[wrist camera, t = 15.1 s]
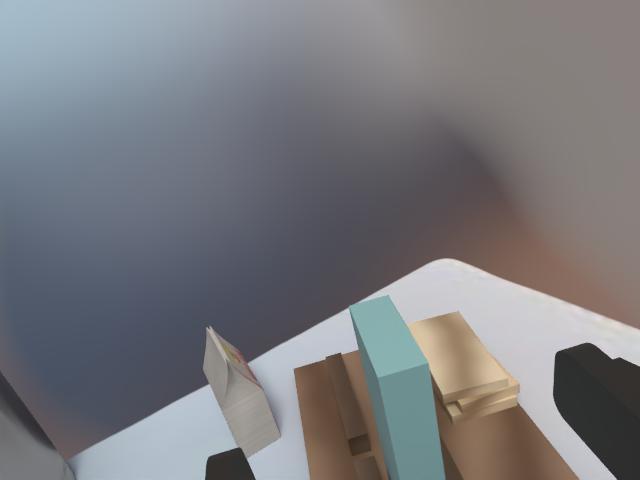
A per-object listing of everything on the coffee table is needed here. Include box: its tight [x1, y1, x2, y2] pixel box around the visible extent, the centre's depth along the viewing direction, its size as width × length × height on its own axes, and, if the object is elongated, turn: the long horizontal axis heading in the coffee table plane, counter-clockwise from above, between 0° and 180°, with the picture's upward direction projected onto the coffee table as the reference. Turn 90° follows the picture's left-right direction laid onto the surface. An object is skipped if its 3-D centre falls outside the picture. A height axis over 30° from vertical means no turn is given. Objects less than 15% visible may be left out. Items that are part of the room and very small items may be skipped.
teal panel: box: [349, 295, 446, 480], centre depth 25 cm, size 2×6×16 cm, turn 9°
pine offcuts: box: [407, 311, 520, 425], centre depth 38 cm, size 6×10×3 cm, turn 9°
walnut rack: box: [294, 350, 579, 480], centre depth 32 cm, size 18×26×3 cm
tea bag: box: [203, 326, 281, 459], centre depth 38 cm, size 4×7×10 cm, turn 29°
